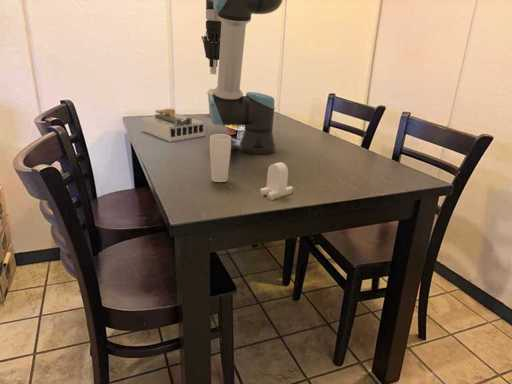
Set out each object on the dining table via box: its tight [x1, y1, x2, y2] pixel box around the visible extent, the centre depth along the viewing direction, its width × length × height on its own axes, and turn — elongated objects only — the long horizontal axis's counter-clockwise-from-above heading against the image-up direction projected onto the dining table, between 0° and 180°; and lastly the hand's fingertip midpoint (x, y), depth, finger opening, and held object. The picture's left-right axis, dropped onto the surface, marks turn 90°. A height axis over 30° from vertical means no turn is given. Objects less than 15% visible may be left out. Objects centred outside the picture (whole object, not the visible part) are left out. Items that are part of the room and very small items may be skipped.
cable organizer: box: [259, 161, 294, 197], centre depth 117 cm, size 5×10×10 cm, turn 133°
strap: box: [154, 113, 188, 125], centre depth 176 cm, size 21×4×2 cm, turn 45°
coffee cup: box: [206, 88, 215, 118], centre depth 219 cm, size 10×10×15 cm
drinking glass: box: [209, 133, 232, 183], centre depth 124 cm, size 7×7×15 cm
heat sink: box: [141, 113, 205, 143], centre depth 178 cm, size 22×19×9 cm
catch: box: [155, 108, 176, 117], centre depth 181 cm, size 4×8×3 cm, turn 135°
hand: (213, 74), depth 184 cm, fingers closed
